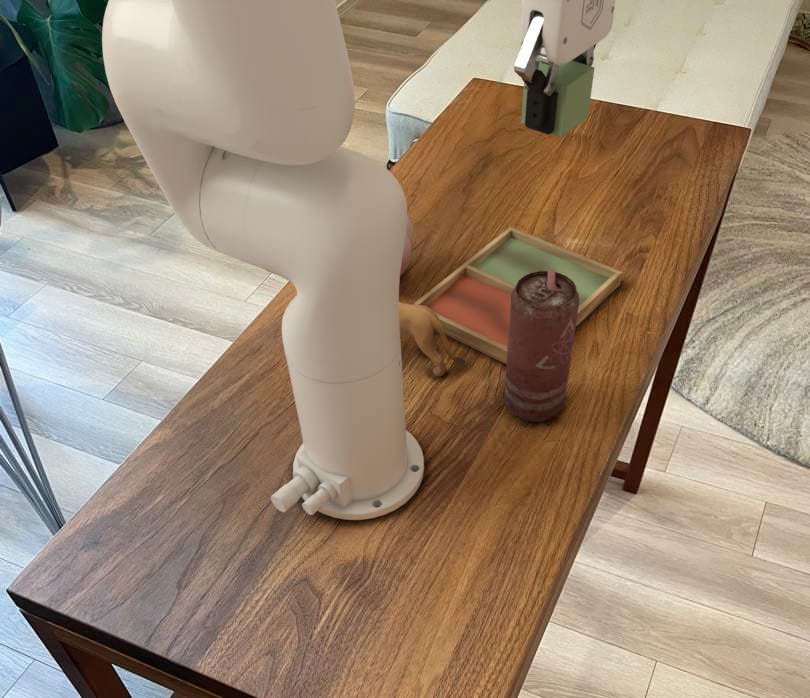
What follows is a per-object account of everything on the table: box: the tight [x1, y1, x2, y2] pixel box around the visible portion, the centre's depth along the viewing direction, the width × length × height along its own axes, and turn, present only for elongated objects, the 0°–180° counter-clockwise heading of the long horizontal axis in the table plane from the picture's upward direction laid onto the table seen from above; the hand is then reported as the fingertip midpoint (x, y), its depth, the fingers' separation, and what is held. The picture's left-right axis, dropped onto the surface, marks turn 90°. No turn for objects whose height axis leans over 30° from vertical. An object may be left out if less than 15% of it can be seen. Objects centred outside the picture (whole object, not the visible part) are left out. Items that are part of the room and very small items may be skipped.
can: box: [503, 270, 579, 423], centre depth 80 cm, size 6×6×14 cm
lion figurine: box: [399, 300, 467, 377], centre depth 87 cm, size 15×5×9 cm, turn 72°
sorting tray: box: [412, 226, 623, 365], centre depth 94 cm, size 19×16×2 cm
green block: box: [520, 61, 595, 138], centre depth 84 cm, size 5×5×5 cm
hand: (554, 116), depth 86 cm, fingers closed on green block, 5 cm apart
